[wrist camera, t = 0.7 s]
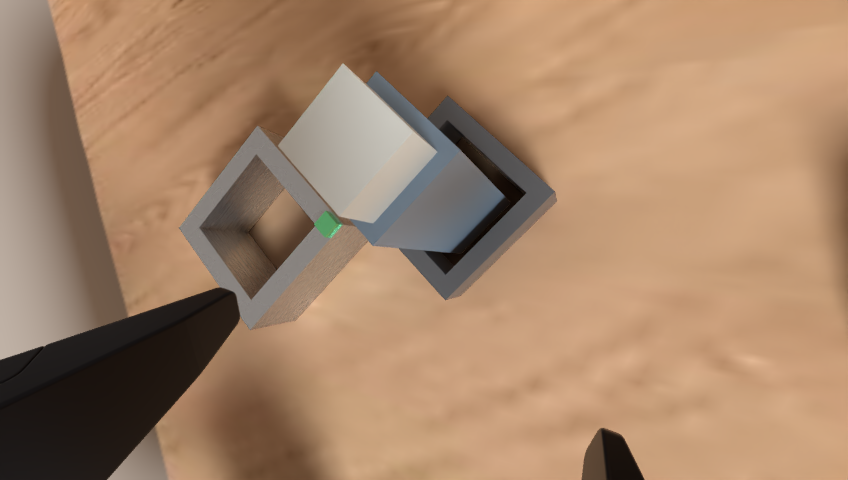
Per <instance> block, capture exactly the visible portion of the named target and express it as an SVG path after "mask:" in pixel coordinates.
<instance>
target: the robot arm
mask: <svg viewBox="0 0 848 480" xmlns="http://www.w3.org/2000/svg"><path fill="white" fill-rule="evenodd" d="M239 319H240V311H239V306H238V301H237V296H236V294H235V292H233V291H231V290H228V289H225V288H221V287H219V288H215V289H212V290H209V291H206V292H203V293H200V294H197V295H194V296H191V297H188V298H185V299H182V300H179V301H176V302H173V303H170V304H167V305H164V306H161V307H158V308H155V309H152V310H149V311H146V312H143V313H140V314H137V315H134V316H131V317H128V318H125V319H122V320H119V321H116V322H113V323H111V324H107V325H105V326H101V327H98V328H95V329H92V330H89V331H87V332H83V333H80V334H77V335H74V336H71V337H68V338H66V339H63V340H60V341H56V342H53V343H50V344H48V345H46V346H45V347H43V346H42V347H38V348H35V349H32V350H30V351H26V352H24V353H20V354H17V355H14V356H11V357H8V358H5V359H2V360H0V480H107V479H108V478H109V477H110V476H111V475H112V473H113V472H114V471H115V470H116V469H117V468H118V467H119V466H120V464H121V463H122V462H123V461H124V460H125V459H126V458H127V457H128V455H129V454H130V453H131V452H132V451H133V450H134V449H135V447H136V446H137V445H138V444H139V443H140V442H141V441H142V440H143V439H144V437H145V436H146V435H147V434H148V433H149V432H150V431H151V430H152V428H153V427H154V426H155V425H156V424H157V423H158V422H159V420H160V419H161V418H162V417H163V416H164V415H165V414H166V413H167V411H168V410H169V409H170V408H171V407H172V406H173V405H174V404H175V402H176V401H177V400H178V399H179V398H180V397H181V396H182V395H183V393H184V392H185V391H186V390H187V389H188V388H189V387H190V385H191V384H192V383H193V382H194V381H195V380H196V379H197V377H198V376H199V375H200V374H201V373H202V371H203V370H204V369H205V367H206V366H207V365H208V364H209V362H210V361H211V359H212V358H213V357H214V355H215V354H216V353H217V351H218V350H219V348H220V347H221V346H222V344H223V343H224V342H225V340H226V339H227V338H228V336H229V335H230V333H231V332H232V331H233V329H234V328H235V327H236V325H237V324H238V322H239ZM582 480H645V479H644V477H643V475H642V473H641V471H640V469H639V467H638V465H637V463H636V461H635V459H634V457H633V455H632V453H631V451H630V449H629V447H628V445H627V443H626V441H625V439H624V438H623V436H622V435H620V434H619V433H616V432H613V431H611V430H608V429H605V428H600V429H599V430H598V431H597V433H596V435H595V436H594V438H593V440H592V441H591V443H590V445H589V446H588V448H587V450H586V453H585V457H584V464H583V473H582Z"/></svg>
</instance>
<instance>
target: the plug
mask: <svg viewBox="0 0 848 480" xmlns="http://www.w3.org/2000/svg"><path fill="white" fill-rule="evenodd" d="M278 147H279V148H280V149H281V150H282V151H283V152H284V154H285V155H286V156H287V157H288V158H289V159H290V161H291V162H292V163H293V164H294V165H295V166H296V167H297V169H298V170H299V171H300V172H301V173H302V174H303V176H304V177H305V178H306V179H307V180H308V181H309V182H310V184H311V185H312V186H313V187H314V188H315V189H316V190H317V192H318V193H319V194H320V195H321V196H322V197H323V199H324V200H325V201H326V202H327V203H328V204H329V205H330V207H331V208H332V209H333V210H334V211H335V212H336V214H337V215H338V216H339V217H344V218H349V219H350V220H351V221H352V223H353V224H354V225H355V226H356V227H357V228H358V229H359V231H360V232H361V233H362V234H363V235H364V236H365V237H366V239H367V240H368V241H369V242H370V243H371V244H372V245H373V246H381V247H392V248H403V249H415V250H426V251H437V252H448V253H459V254H461V253H462V252H463V251H464V250H465V249H466V248H467V247H468V246H469V245H470V244H471V243H472V242H473V241H474V240H475V239H476V238H477V237H478V236H479V235H480V234H481V233H482V232H483V231H484V230H485V229H486V228H487V227H488V226H489V225H490V224H491V223H492V222H493V221H494V220H495V219H496V218H497V217H498V216H499V215H500V214H501V213H502V212H503V211H504V210H505V209H506V208H507V207H508V206H509V205H510V204H511V202H510V201H509V200H508V199H507V198H506V197H505V196H504V195H503V194H502V193H501V192H500V191H499V190H498V189H497V188H496V187H495V186H494V185H493V183H492V182H491V181H490V180H489V179H488V178H487V177H486V176H485V175H484V174H483V173H482V172H481V171H480V170H479V169H478V168H477V167H476V166H475V165H474V164H473V163H472V162H471V161H470V159H469V158H468V157H467V156H466V155H465V154H464V153H463V152H462V151H461V150H460V149H459V148H458V147H457V146H456V145H455V144H453V143H452V142H451V141H450V140H449V139H448V138H447V137H446V136H445V135H444V134H443V133H442V132H441V131H440V130H439V129H437V128H436V127H435V126H434V125H433V124H432V123H431V122H430V121H429V120H428V119H427V118H426V117H425V116H424V115H423V114H422V113H420V112H419V111H418V110H417V109H416V108H415V107H414V106H413V105H412V104H411V103H410V102H409V101H408V100H407V99H406V98H404V97H403V96H402V95H401V94H400V93H399V92H398V91H397V90H396V89H395V88H394V87H393V86H392V85H391V84H390V83H389V82H387V81H386V80H385V79H384V78H383V77H382V76H381V75H380V74H379V73H378V72H377V71H376V72H375V73H374V75H373V76H372V77H371V78H370V79H369V81H368V82H367V83H365V82H364V81H362V80H361V79H360V78H359V77H358V76H357V75H356V74H354V73H353V72H352V71H351V70H350V69H349V68H348V67H347V66H345V65H344V64H342V65H341V66H340V68H339V69H338V70H337V71H336V73H335V74H334V75H333V77H332V78H331V79H330V80H329V82H328V83H327V84H326V85H325V87H324V88H323V89H322V90H321V92H320V93H319V94H318V95H317V97H316V98H315V99H314V101H313V102H312V103H311V104H310V106H309V107H308V108H307V109H306V111H305V112H304V113H303V114H302V116H301V117H300V118H299V120H298V121H297V122H296V123H295V125H294V126H293V127H292V128H291V130H290V131H289V132H288V133H287V135H286V136H285V137H284V138H283V140H282V141H281V142H280V144H279V145H278Z"/></svg>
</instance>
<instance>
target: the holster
mask: <svg viewBox="0 0 848 480" xmlns="http://www.w3.org/2000/svg"><path fill="white" fill-rule="evenodd" d="M428 120H429V121H430V122H431V123H432V124H433V125H434V126H435V127H436V128H437V129H439V130H440V131H441V132H442V133H443V134H444V135H445V136H446V137H447V138H448V139H449V140H450V141H451V142H452V143H453V144H456V143H457V142H458V141H459V140H460V139H461V138H463V139H464V140H466V141H467V142H468V143H469V144H470V145H471V146H472V147H473V148H474V149H475V150H476V151H477V152H479V153H480V154H481V155H482V156H483V157H484V158H485V159H486V160H487V161H488V162H489V163H490V164H492V165H493V166H494V167H495V168H496V169H497V170H498V171H499V172H500V173H501V174H502V175H503V176H505V177H506V178H507V179H508V180H509V181H510V182H511V183H512V184H513V185H514V186H515V187H516V188H517V189H519V190H520V191H521V192H522V193H523V194H524V196H523V197H522V198H521V199H520V200H519V201H518V202H517V203H516V204H515V205H514V206H513V207H512V208H511V209H510V210H509V211H508V212H507V213H506V214H505V215H504V216H503V217H502V218H501V219H500V220H499V221H498V222H497V223H496V224H495V225H494V227H493V228H492V229H491V230H490V231H489V232H488V233H487V234H486V235H485V236H484V237H483V238H482V239H481V240H480V241H479V242H478V243H477V244H476V245H475V246H474V247H473V248H472V249H471V250H470V251H469V252H468V253H467V254H466V255H465V256H464V257H463V258H462V259H461V260H460V261H459V262H458V263H457V264H456V265H455V266H453V264H452V263H451V262H450V261H449V260H448V259H447V258H446V257H445V256H444V255H443V254H442V253H441V252H437V251H426V250H415V249H403V248H399V249H400V250H401V252H402V253H403V254H404V255H405V256H406V257H407V258H408V259H409V260H410V262H411V263H412V264H413V265H414V266H415V267H416V268H417V269H418V270H419V272H420V273H421V274H422V275H423V276H424V277H425V278H426V279H427V280H428V282H429V283H430V284H431V285H432V286H433V287H434V288H435V289H436V290H437V292H438V293H439V294H440V295H441V296H442V297H443V298H444V299H445V300H448V299H452V298H455V297H458V296H461V295H462V294H463V293H464V292H465V291H466V290H467V289H468V288H469V287H470V286H471V285H472V284H473V283H474V282H475V281H476V280H477V279H478V278H479V277H480V276H481V275H482V274H483V273H484V272H485V271H486V270H487V269H488V268H489V267H490V266H491V265H492V264H493V263H495V262H496V261H497V260H498V259H499V258H500V257H501V256H502V255H503V254H504V253H505V252H506V251H507V250H508V249H509V248H510V247H511V246H512V245H513V244H514V243H515V242H516V241H517V240H518V239H519V238H520V237H521V236H522V235H523V234H524V233H525V232H526V231H527V230H528V229H529V228H530V227H531V226H532V225H533V224H534V223H535V222H536V221H537V220H538V219H539V218H540V217H541V216H542V215H543V214H544V213H545V212H546V211H547V210H548V209H549V208H550V207H551V206H552V205H554V204H555V203H556V202H557V199H556V194H555V191H554V190H553V189H551V188H550V187H549V186H548V185H547V184H546V183H545V182H544V181H542V180H541V179H540V178H539V177H538V176H537V175H536V174H535V173H534V172H532V171H531V170H530V169H529V168H528V167H527V166H526V165H525V164H523V163H522V162H521V161H520V160H519V159H518V158H517V157H516V156H515V155H513V154H512V153H511V152H510V151H509V150H508V149H507V148H506V147H504V146H503V145H502V144H501V143H500V142H499V141H498V140H497V139H496V138H494V137H493V136H492V135H491V134H490V133H489V132H488V131H487V130H485V129H484V128H483V127H482V126H481V125H480V124H479V123H478V122H477V121H475V120H474V119H473V118H472V117H471V116H470V115H469V114H468V113H466V112H465V111H464V110H463V109H462V108H461V107H460V106H459V105H458V104H456V103H455V102H454V101H453V100H452V99H451V98H450V97H449V96H447V97H446V98H445V99H444V100H443V101H442V103H441V104H440V105H439V106H438V107H437V108H436V109H435V111H434V112H433V113H432V114H431V115H430V116H429V117H428Z"/></svg>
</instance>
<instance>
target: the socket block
mask: <svg viewBox="0 0 848 480" xmlns="http://www.w3.org/2000/svg"><path fill="white" fill-rule="evenodd" d="M283 138H284V137H282V136H280V135H278V134H276V133H273V132H271V131H269V130H266V129H264V128H262V127H260V126H257V127H256V128H255V129H254V131H253V132H252V133H251V135H250V136H249V137H248V139H247V140H246V141H245V142H244V144H243V145H242V146H241V148H240V149H239V150H238V152H237V153H236V154H235V156H234V157H233V158H232V159H231V161H230V162H229V163H228V165H227V166H226V167H225V169H224V170H223V171H222V172H221V174H220V175H219V176H218V178H217V179H216V180H215V182H214V183H213V184H212V186H211V187H210V188H209V189H208V191H207V192H206V193H205V195H204V196H203V197H202V199H201V200H200V201H199V202H198V204H197V205H196V206H195V208H194V209H193V210H192V212H191V213H190V214H189V215H188V217H187V218H186V219H185V221H184V222H183V223H182V225H181V226H180V227H179V229H180V230H181V232H182V233H183V235H184V236H185V237H186V239H187V240H188V242H189V243H190V245H191V246H192V248H193V249H194V250H195V252H196V253H197V255H198V256H199V258H200V259H201V260H202V262H203V263H204V265H205V266H206V268H207V269H208V271H209V272H210V273H211V275H212V276H213V278H214V279H215V281H216V282H217V283H218V285H219V286H220V287H221V288H225V289H228V290H231V291H233V292H235V294H236V296H237V301H238V306H239V311H240V316H241V318H242V319H243V321H244V322H245V324H246V325H247V327H248V328H249V329H250V330H253V329H258V328H262V327H267V326H272V325H277V324H282V323H286V322H291V321H295V320H296V319H297V318H298V317H299V316H300V315H301V314H302V313H303V311H304V310H305V309H306V308H307V307H308V306H309V305H310V304H311V303H312V302H313V300H314V299H315V298H316V297H317V296H318V295H319V294H320V293H321V292H322V291H323V290H324V288H325V287H326V286H327V285H328V284H329V283H330V282H331V281H332V280H333V279H334V277H335V276H336V275H337V274H338V273H339V272H340V271H341V270H342V269H343V268H344V266H345V265H346V264H347V263H348V262H349V261H350V260H351V259H352V258H353V257H354V255H355V254H356V253H357V252H358V251H359V250H360V249H361V248H362V247H363V246H364V244H365V243H366V242H367V241H368V240H367V239H366V237H365V236H364V235H363V234H362V233H361V232H360V231H359V229H358V228H357V227H356V226H355V225H354V224H353V223H352V221H351V220H350V219H349V218H344V217H339V216H338V215H337V214H336V212H335V211H334V210H333V209H332V208H331V207H330V205H329V204H328V203H327V202H326V201H325V200H324V199H323V197H322V196H321V195H320V194H319V193H318V192H317V190H316V189H315V188H314V187H313V186H312V185H311V184H310V182H309V181H308V180H307V179H306V178H305V177H304V176H303V174H302V173H301V172H300V171H299V170H298V169H297V167H296V166H295V165H294V164H293V163H292V162H291V161H290V159H289V158H288V157H287V156H286V155H285V154H284V152H283V151H282V150H281V149H280V148H279V147H278V145H279V144H280V142H281V141H282V140H283ZM284 188H285V189H286V190H287V191H288V192H289V194H290V195H291V196H292V197H293V198H294V200H295V201H296V202H297V203H298V204H299V205H300V207H301V208H302V209H303V210H304V211H305V213H306V214H307V215H308V216H309V217H310V219H311V220H312V221H313V222H314V225H315V227H314V228H313V229H312V230H311V231H310V232H309V234H308V235H307V236H306V237H305V238H304V239H303V241H302V242H301V243H300V244H299V245H298V246H297V248H296V249H295V250H294V251H293V252H292V253H291V255H290V256H289V257H288V258H287V259H286V260H285V261H284V263H283V264H282V265H281V266H280V267H279V268H278V270H276V268H275V267H274V266H273V264H272V263H271V262H270V260H269V259H268V258H267V256H266V255H265V254H264V252H263V251H262V250H261V249H260V247H259V246H258V245H257V243H256V242H255V241H254V239H253V238H252V237H251V235H250V234H249V233H248V232H249V231H250V229H251V228H252V227H253V226H254V225H255V223H256V222H257V221H258V220H259V218H260V217H261V216H262V215H263V214H264V212H265V211H266V210H267V209H268V207H269V206H270V205H271V204H272V203H273V201H274V200H275V199H276V198H277V196H278V195H279V194H280V193H281V192H282V190H283V189H284Z"/></svg>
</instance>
